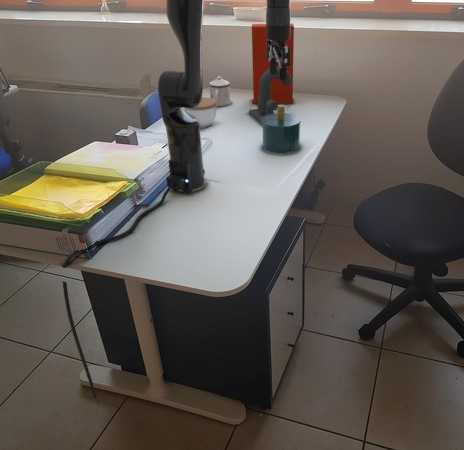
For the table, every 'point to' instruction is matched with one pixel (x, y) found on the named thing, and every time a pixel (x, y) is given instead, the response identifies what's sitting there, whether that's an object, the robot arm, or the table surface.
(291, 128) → the tin
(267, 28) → the robot arm
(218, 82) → the teacup with lid
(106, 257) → the table surface
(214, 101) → the lidded bowl
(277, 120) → the tin lid
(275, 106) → the faucet
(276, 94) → the file binder
